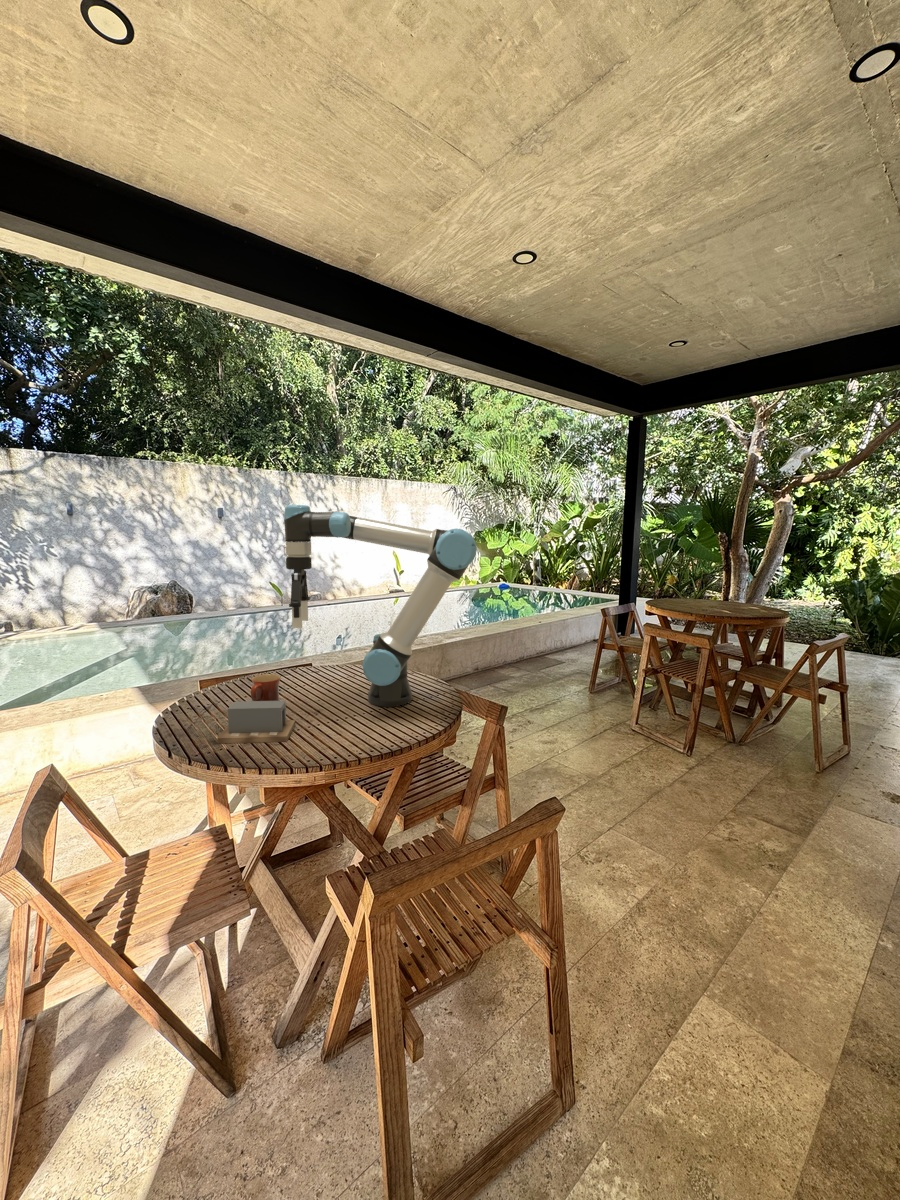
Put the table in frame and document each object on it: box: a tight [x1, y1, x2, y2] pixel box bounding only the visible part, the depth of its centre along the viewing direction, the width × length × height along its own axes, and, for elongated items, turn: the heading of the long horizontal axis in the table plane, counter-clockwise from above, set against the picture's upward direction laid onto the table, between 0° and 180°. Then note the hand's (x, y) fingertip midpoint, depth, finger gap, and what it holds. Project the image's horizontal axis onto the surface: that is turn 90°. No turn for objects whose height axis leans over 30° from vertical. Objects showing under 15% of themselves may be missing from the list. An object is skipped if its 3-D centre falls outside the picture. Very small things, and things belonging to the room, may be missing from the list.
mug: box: [250, 673, 281, 701], centre depth 156 cm, size 12×9×10 cm
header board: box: [216, 719, 296, 745], centre depth 138 cm, size 18×12×6 cm, turn 97°
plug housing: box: [227, 700, 287, 733], centre depth 137 cm, size 14×6×7 cm, turn 97°
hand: (300, 624), depth 153 cm, fingers open, 13 cm apart
